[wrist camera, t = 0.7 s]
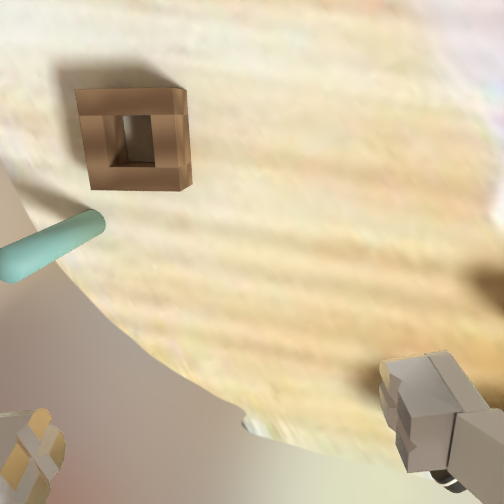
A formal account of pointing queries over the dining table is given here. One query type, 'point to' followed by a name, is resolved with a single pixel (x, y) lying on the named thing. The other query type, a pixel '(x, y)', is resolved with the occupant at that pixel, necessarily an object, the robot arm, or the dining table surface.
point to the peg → (48, 245)
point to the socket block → (114, 143)
